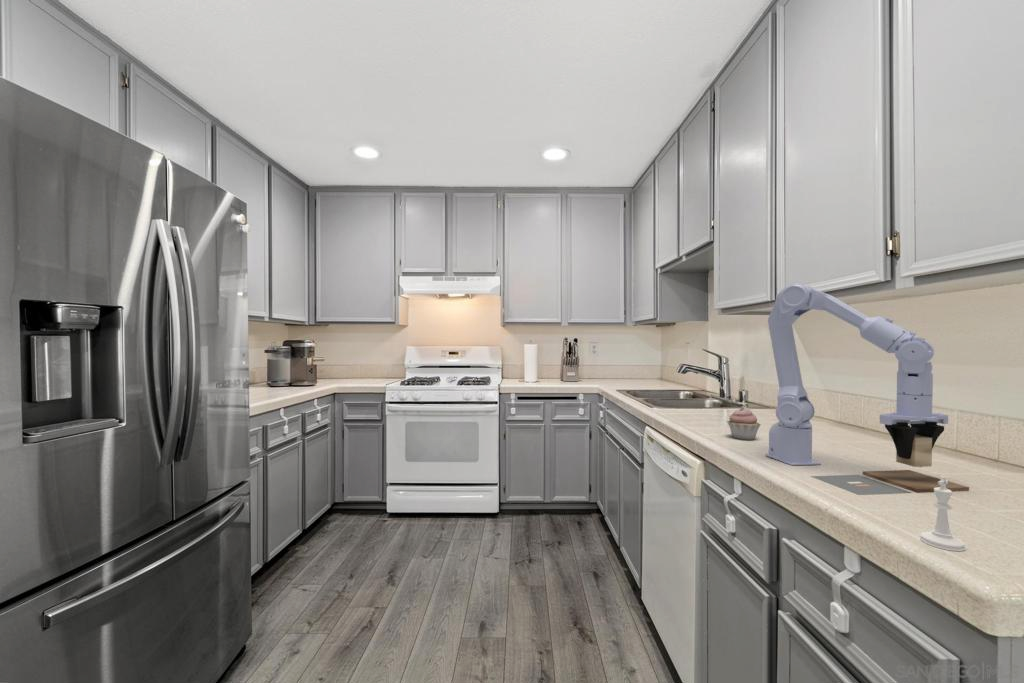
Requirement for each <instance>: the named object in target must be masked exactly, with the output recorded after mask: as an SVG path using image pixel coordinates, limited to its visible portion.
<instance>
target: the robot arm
mask: <svg viewBox="0 0 1024 683" xmlns="http://www.w3.org/2000/svg"><path fill="white" fill-rule="evenodd" d="M811 310H816V311H825V312H827V313H829V314H831V315H833V316H834V317H837V318H838V319H841V320H842V321H844V322H846V323H848V324H850V325H851V326H853V327H855V328H857V329H858V330H859V334H860V338H863V339H864V340H865V341H867V342H869V343H871V344H873V345H874V346H876V347H878V348H879V349H881V350H883V351H884V352H887V353H888V354H894V356H895V358H896V359H897V361H898V366H897V368H898V370H897V372H896V412H893V413H892V412H891V413H885V414H884V413H883V414H882V413H881V414H879V424H883V425H884V427H885V429H886V430H887V431H888V433H889V435H890V437H891V438H892V441H893V443H894V447H895V450H897V454H898V457H901V458H905V459H910V458H911V454H912V444H913V440H914V437H915V435H920V436H925V437H930V438H932V450H933V449H934V446H935V444H936V441H937V440H938V439H939V437H940V436H941V434H942V433H943V432H945V426H944V425H948V424H949V415H948V414H944V413H933V394H934V393H933V390H934V388H933V387H934V380H933V379H934V378H933V377H934V374H933V372H932V370H933V364H932V361H931V360H932V359H933V357H934V354H935V350H934V347H933V345H932V344H931V343H930V342H929V341H927V340H926V339H925V338H922V337H915V336H916V335H917V333H916V332H914V331H913V330H911V331H909V330H906V329H905V328H903V327H901V326H899V325H897V324H895V323H893V322H894V319H892V318H890V317H887V316H886V317H885V318H884V317H883V316H873V317H869V316H867V315H866V314H864V313H862V312H861V311H859V310H857V309H855V308H854V307H852V306H850V305H848V304H846V303H845V302H844V301H842V300H840V299H838V298H836V297H835V296H833V295H831V294H828V293H826V292H823V291H820V290H817V289H815V288H813V287H811V286H807V285H804V284H801V283H796V282H795V283H794V282H793V283H789V284H787V285H786V286H785V287H783V288H782V289H781V290H780V291H779V292H778V293H777V294H776V296H775V302H774V304H773V307H772V308H771V311H770V313H769V316H768V318H767V323H768V330H769V336H770V339H771V340H770V341H771V347H772V351H773V352H772V353H773V357H774V363H775V370H776V374H777V375H776V376H777V382H778V386H779V389H778V392H777V396H776V397H777V406H776V408H775V416H776V418H777V419H778V421H777V422H776V423H774V424H772V425H771V426H770V429H769V430H768V453H765V456H766V457H768V458H772V459H774V460H777V461H779V462H781V463H785V464H786V465H790V466H813V465H819V466H820V465H821V464H822V462H820V461H817V460H815V459H813V424H812V423H811V422H810V420H811V419H813V417H814V415H815V412H816V411H815V407H814V405H813V403H812V402H811V400H809V396H808V392H807V391H806V389H805V387H804V385H803V384H804V383H803V379H802V373H801V368H800V362H799V357H798V352H797V350H798V349H797V346H796V340H795V335H794V330H793V328H794V327H793V325H794V323H796V321H797V320H798V319H799V318H800V317H801V316H802V315H804V314H805V313H808V312H809V311H811ZM941 424H942V425H941Z"/></svg>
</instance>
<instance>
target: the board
mask: <svg viewBox="0 0 1024 683" xmlns="http://www.w3.org/2000/svg"><path fill="white" fill-rule="evenodd" d="M862 476H864V477H867V478H870V479H873V480H876V481H879V482H882V483H885V484H888V485H891V486H894V487H897V488H900V489H903V490H906V491H909V492H912V493H916V494H922V493H925V494H926V493H935V492H934V488H937V487H940V485H939V484H938V481H940V477H939V478H938V477H935V476H933V475H928V474H926V473H921V472H918V471H914V470H911V469H904V470H903V469H900V470H898V469H897V470H869V471H868V470H867V471H866V470H865V471H864V470H863V471H862ZM947 481H948V484H946V488H947V489H949V490H951V491H952V493H953V492H969V491H970V487H969V486H966V485H963V484H959V483H956V482H952V481H949V480H947Z"/></svg>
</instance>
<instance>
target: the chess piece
mask: <svg viewBox="0 0 1024 683" xmlns="http://www.w3.org/2000/svg"><path fill="white" fill-rule="evenodd" d="M939 479H940V481H938V484H939V485H940V487H937V488H934V492H933V493H935V494H934V495H935V497H936V499H937V502H933V504H932V506H933V507H934V508H935V507H936V508H937V509H938V510H937V516H936V521H935V526H934V528H933V529H931V531H923V532H921V533H920V537H919V539H920V541H921V542H923V543H924V544H926V545H929V546H931V547H934V548H938V549H941V550H947V551H953V552H964V551H965V550H966V549H967V548H966V547H965V546H966V544H965V542H964V541H963V540H961V539H960V538H958V537H955V536H954V534H953V533H952V532H951V529H950V522H949V517H948V515H949V514H948V510H949V511H950V510H953V506H952V505H951V504H949V501H950V499H951V496H952V495H953V492H952V491H951V490H949V489H947V488H946V484H948V481H949V480H947V477H946V476H942V475H941V476H940V477H939Z"/></svg>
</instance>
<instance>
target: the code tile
mask: <svg viewBox="0 0 1024 683" xmlns="http://www.w3.org/2000/svg"><path fill="white" fill-rule="evenodd" d="M810 477H811V478H814V479H816V480H819V481H822V482H823V483H827V484H829V485H831V486H834V487H837V488H839V489H841V490H845V491H846V492H849V493H852V494H855V495H857V496H869V495H872V496H873V495H895V494H896V495H897V494H912V491H909V490H907V489H904V488H901V487H898V486H895V485H892V484H889V483H886V482H883V481H880V480H877V479H874V478H871V477H868V476H865V475H860V474H842V475H840V474H838V475H837V474H836V475H810Z"/></svg>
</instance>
